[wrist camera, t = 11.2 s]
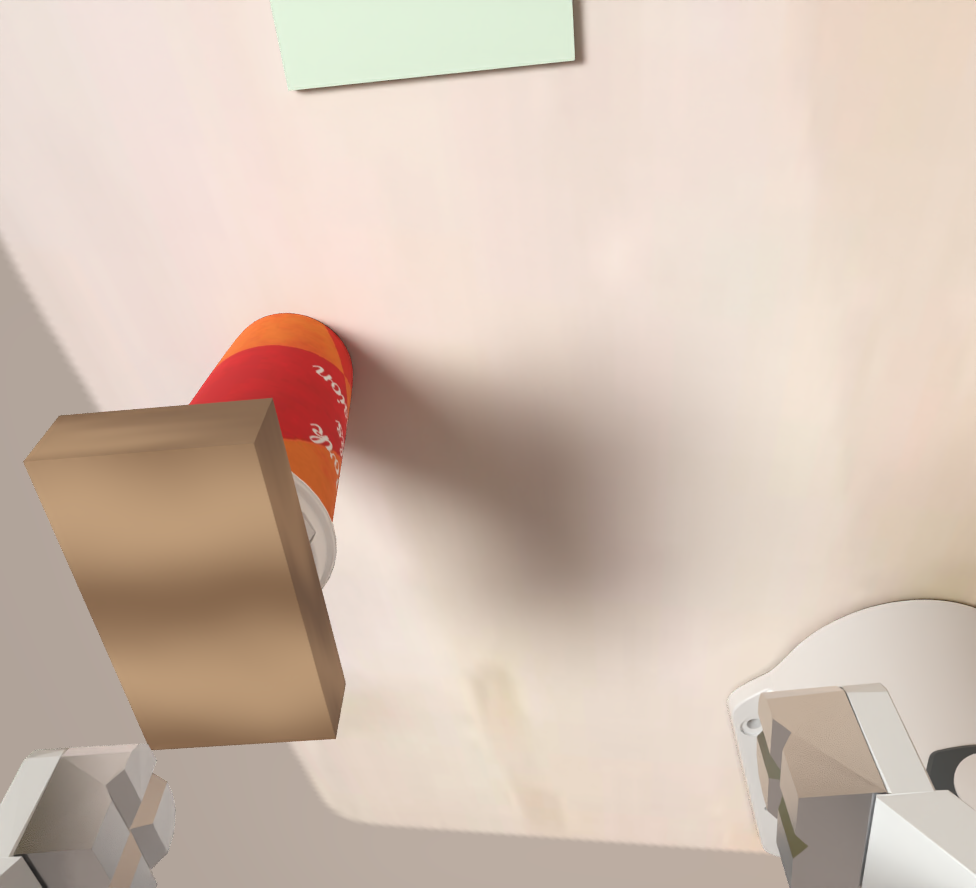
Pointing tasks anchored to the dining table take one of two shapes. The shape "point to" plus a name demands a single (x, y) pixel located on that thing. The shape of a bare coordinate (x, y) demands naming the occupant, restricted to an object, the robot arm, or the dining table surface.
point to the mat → (416, 38)
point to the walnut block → (195, 570)
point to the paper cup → (296, 408)
